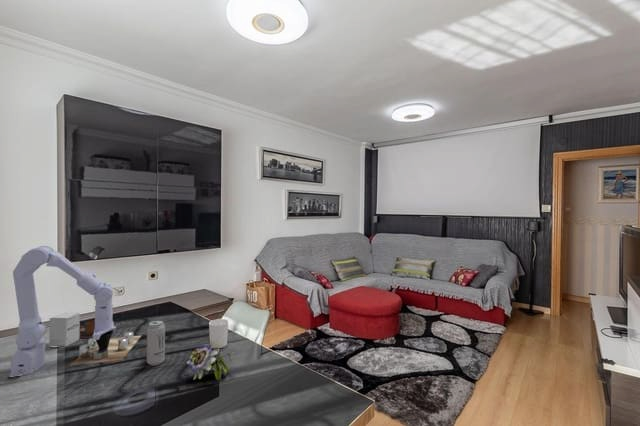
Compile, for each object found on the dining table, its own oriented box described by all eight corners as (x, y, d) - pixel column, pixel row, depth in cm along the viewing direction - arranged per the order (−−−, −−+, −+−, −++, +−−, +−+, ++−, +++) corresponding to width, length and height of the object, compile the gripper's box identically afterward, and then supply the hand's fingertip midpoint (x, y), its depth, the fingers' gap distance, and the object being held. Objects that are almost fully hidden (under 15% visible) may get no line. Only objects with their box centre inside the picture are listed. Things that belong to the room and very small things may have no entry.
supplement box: (65, 348, 127) (66, 317, 127) (48, 348, 127) (48, 317, 127) (80, 340, 135) (80, 312, 135) (63, 340, 135) (64, 312, 135)
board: (122, 361, 116) (122, 359, 116) (69, 367, 111) (69, 365, 111) (141, 337, 139) (141, 335, 139) (98, 341, 134) (98, 339, 134)
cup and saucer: (83, 343, 133) (83, 329, 133) (74, 336, 140) (74, 323, 140) (114, 334, 142) (114, 321, 142) (105, 328, 149) (105, 316, 149)
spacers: (123, 353, 120) (123, 343, 120) (77, 358, 116) (77, 348, 116) (137, 336, 137) (137, 327, 137) (97, 340, 133) (97, 331, 133)
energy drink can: (157, 367, 111) (157, 326, 112) (142, 365, 113) (143, 325, 113) (168, 359, 117) (168, 320, 117) (154, 358, 119) (155, 319, 119)
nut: (110, 353, 120) (110, 347, 120) (105, 359, 116) (105, 352, 116) (94, 355, 119) (94, 349, 119) (89, 360, 115) (89, 354, 115)
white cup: (231, 341, 134) (231, 319, 134) (223, 349, 126) (223, 325, 126) (213, 341, 135) (214, 318, 135) (205, 348, 127) (205, 324, 127)
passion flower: (196, 396, 104) (176, 362, 106) (223, 374, 114) (204, 342, 116) (214, 386, 97) (193, 349, 99) (241, 363, 108) (221, 330, 110)
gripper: (107, 321, 115) (107, 358, 115) (121, 310, 129) (121, 342, 129) (86, 323, 113) (85, 360, 113) (102, 311, 127) (102, 344, 127)
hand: (103, 351), depth 121 cm, fingers closed
